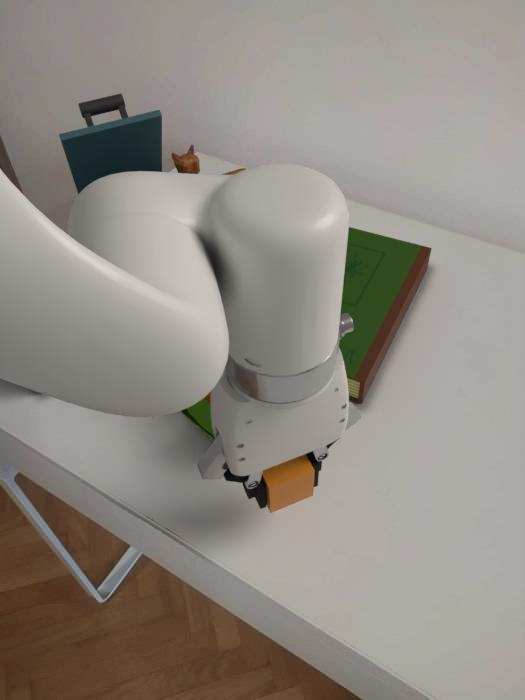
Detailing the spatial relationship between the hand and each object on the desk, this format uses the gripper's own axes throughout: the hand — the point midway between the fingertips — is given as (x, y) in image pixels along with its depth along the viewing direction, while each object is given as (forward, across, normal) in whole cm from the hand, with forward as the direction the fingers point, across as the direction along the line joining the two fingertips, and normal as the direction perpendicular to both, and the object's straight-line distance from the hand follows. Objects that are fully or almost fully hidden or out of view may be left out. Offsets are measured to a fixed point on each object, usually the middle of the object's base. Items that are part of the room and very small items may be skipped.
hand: (282, 482), depth 52 cm
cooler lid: (-10, +3, -43) cm, 44 cm away
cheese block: (0, 0, 0) cm, 0 cm away
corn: (+5, +2, -14) cm, 15 cm away
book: (+5, -17, -23) cm, 29 cm away
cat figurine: (+5, -14, -46) cm, 48 cm away
